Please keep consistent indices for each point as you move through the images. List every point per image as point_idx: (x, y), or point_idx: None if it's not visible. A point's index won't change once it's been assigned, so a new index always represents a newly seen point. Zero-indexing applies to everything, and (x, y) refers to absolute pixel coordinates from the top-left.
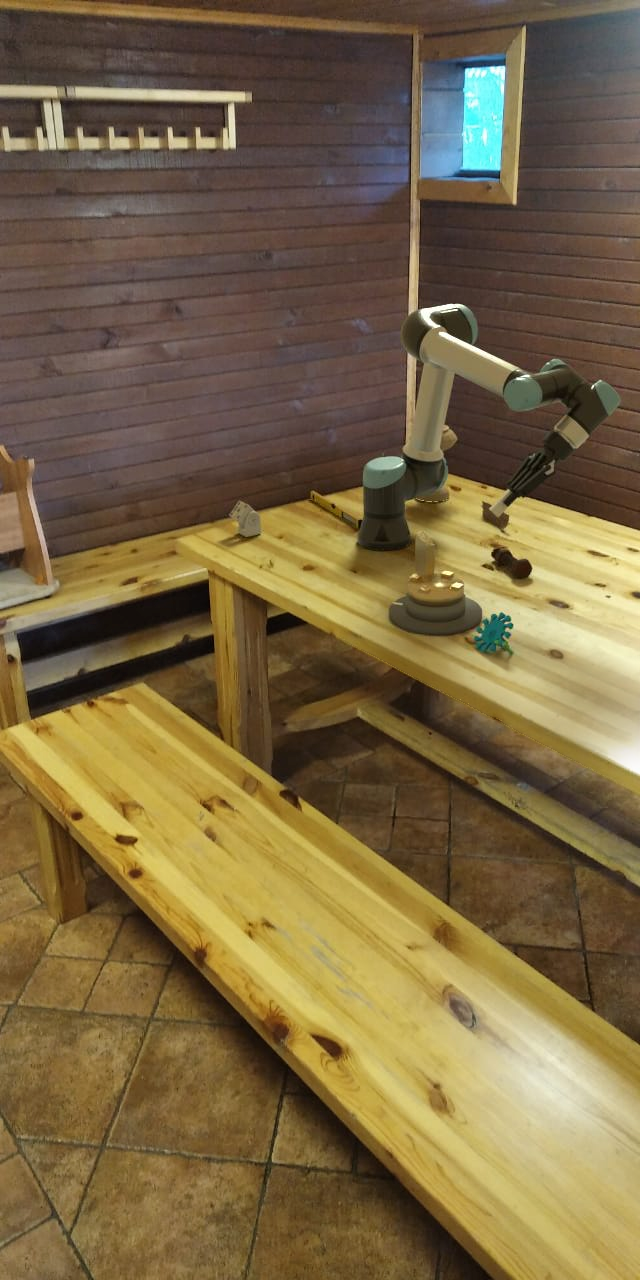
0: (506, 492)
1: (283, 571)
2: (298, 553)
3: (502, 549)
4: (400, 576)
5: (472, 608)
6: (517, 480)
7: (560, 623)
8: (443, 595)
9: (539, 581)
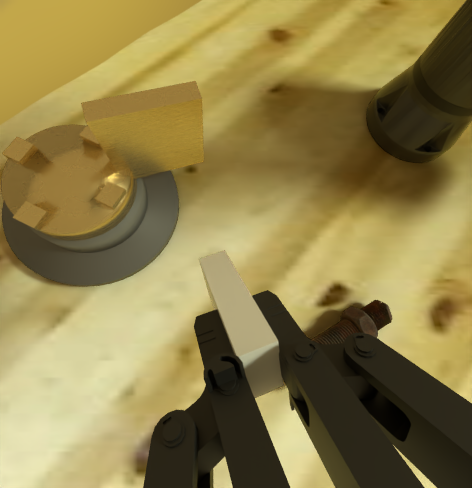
0: (248, 330)
1: (262, 9)
2: (332, 23)
3: (372, 323)
4: (265, 151)
5: (99, 266)
6: (330, 436)
7: (50, 453)
8: (3, 191)
9: (276, 404)
